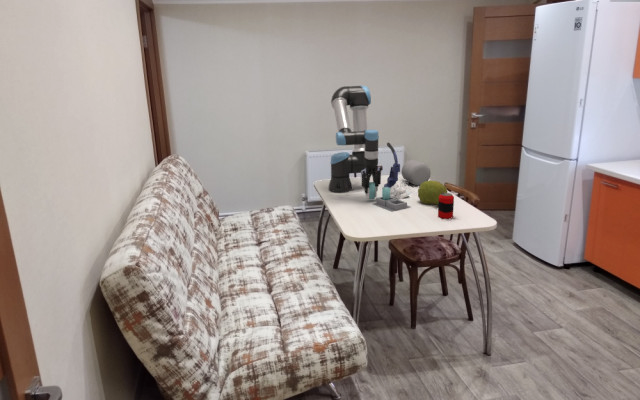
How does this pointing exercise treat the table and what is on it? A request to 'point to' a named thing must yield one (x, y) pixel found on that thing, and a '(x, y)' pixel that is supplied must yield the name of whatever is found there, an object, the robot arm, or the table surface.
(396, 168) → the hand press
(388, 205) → the housing
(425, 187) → the fruit
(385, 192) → the jaw pin
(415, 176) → the grey rounded lump
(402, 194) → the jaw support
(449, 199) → the soda can
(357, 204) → the table surface
